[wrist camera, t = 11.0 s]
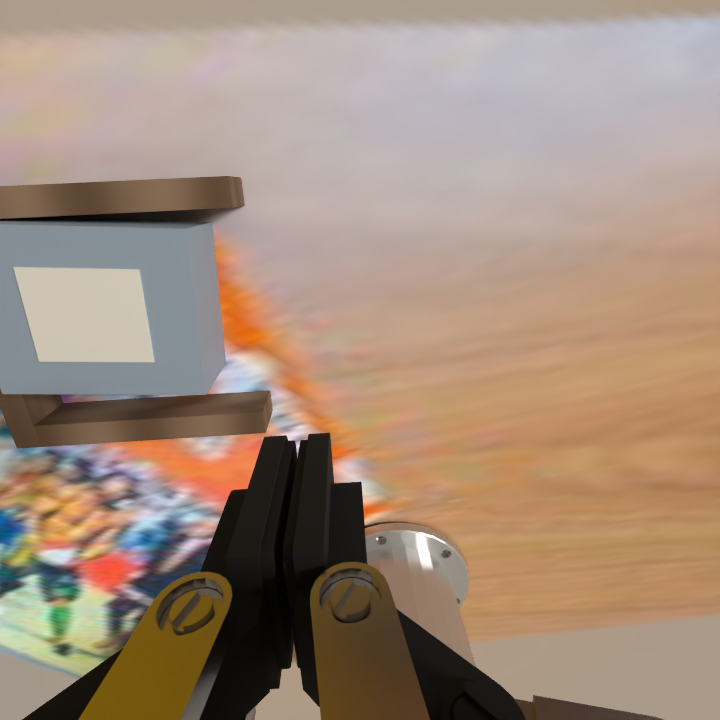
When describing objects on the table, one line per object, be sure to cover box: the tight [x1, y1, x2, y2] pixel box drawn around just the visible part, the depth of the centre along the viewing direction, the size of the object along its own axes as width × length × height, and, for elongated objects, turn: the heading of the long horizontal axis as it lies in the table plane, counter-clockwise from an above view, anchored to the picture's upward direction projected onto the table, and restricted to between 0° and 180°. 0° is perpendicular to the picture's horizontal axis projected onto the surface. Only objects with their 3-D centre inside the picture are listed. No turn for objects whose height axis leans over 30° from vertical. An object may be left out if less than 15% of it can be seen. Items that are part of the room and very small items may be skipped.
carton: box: [0, 217, 226, 395], centre depth 24 cm, size 11×9×5 cm
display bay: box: [0, 176, 272, 448], centre depth 25 cm, size 16×15×3 cm
